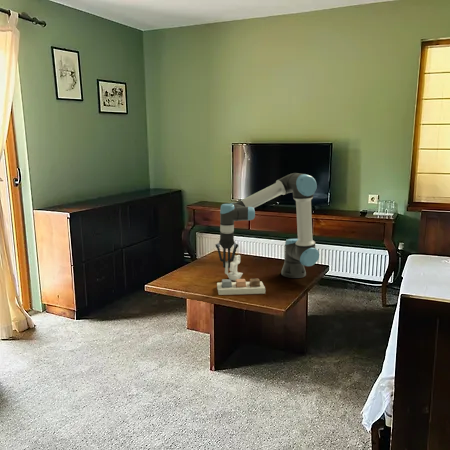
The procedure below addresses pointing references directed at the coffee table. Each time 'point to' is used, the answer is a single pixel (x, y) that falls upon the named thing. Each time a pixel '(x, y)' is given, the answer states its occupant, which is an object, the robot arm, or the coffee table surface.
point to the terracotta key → (240, 283)
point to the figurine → (234, 269)
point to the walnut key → (254, 282)
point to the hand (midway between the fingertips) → (226, 273)
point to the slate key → (226, 283)
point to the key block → (240, 289)
